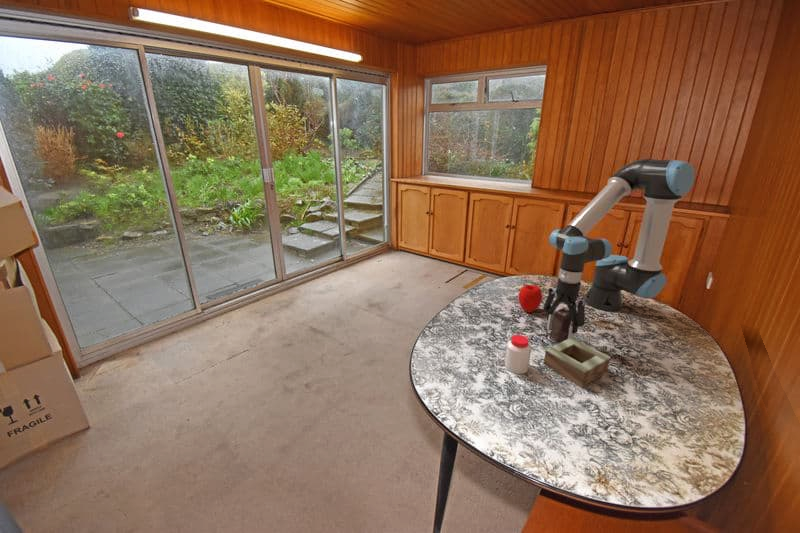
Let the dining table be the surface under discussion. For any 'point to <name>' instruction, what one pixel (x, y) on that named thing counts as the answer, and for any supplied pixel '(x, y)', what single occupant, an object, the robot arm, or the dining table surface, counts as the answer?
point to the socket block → (576, 361)
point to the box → (560, 325)
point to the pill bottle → (518, 354)
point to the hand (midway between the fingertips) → (559, 333)
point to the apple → (530, 297)
